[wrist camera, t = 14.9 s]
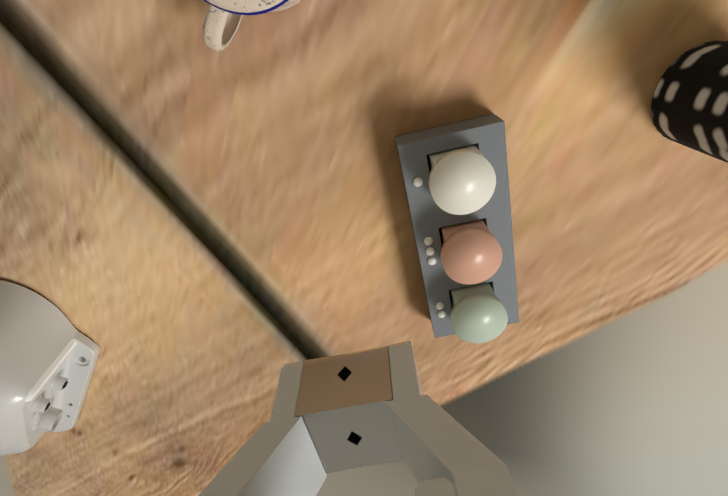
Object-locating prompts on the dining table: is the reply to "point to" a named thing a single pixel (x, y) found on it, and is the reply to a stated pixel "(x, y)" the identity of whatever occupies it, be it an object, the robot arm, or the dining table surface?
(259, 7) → the teacup with lid
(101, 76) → the dining table surface
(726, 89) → the spotted tube
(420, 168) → the button panel
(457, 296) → the button two dots
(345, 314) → the dining table surface
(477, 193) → the button one dot
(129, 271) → the dining table surface
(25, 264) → the dining table surface
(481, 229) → the pink dome knob
